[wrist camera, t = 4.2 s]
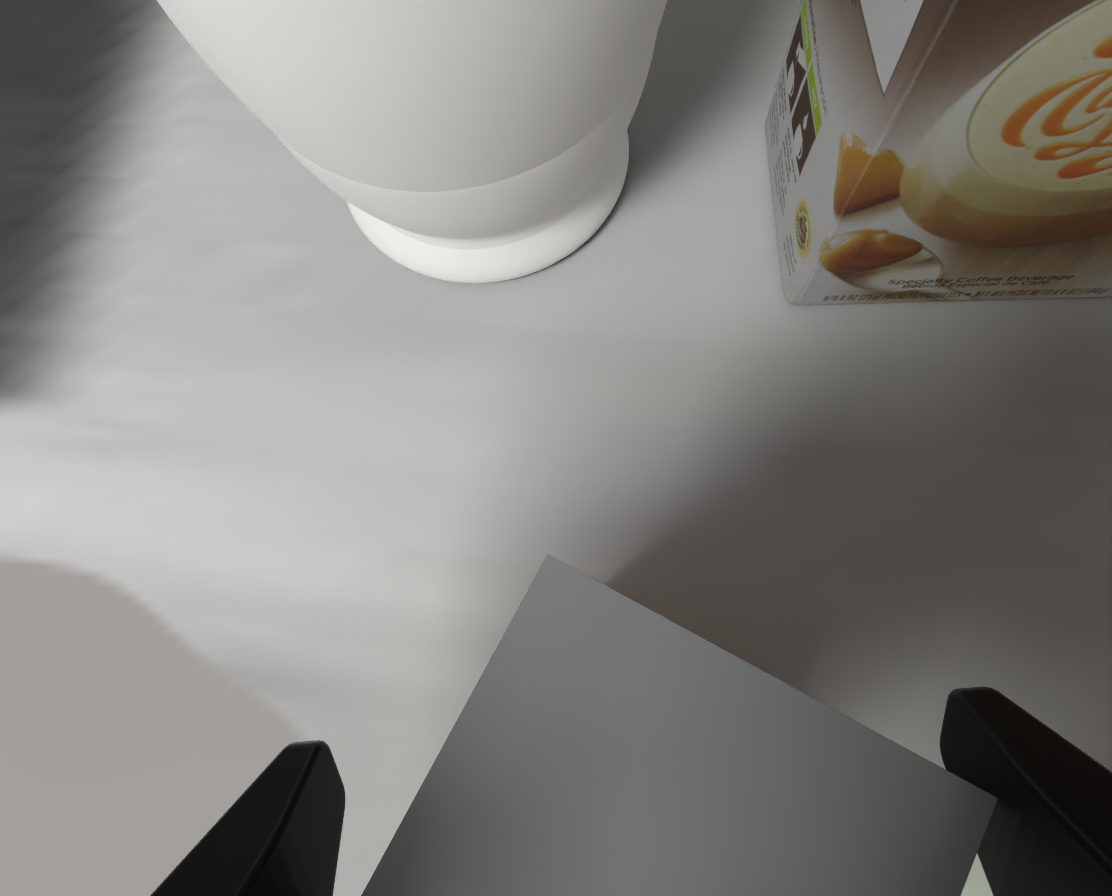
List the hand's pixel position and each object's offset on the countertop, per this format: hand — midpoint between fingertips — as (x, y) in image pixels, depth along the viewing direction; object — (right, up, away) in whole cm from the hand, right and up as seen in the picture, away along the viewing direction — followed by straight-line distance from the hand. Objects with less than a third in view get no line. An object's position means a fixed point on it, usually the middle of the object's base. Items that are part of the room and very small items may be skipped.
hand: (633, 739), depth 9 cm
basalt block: (+1, -3, +5) cm, 6 cm away
